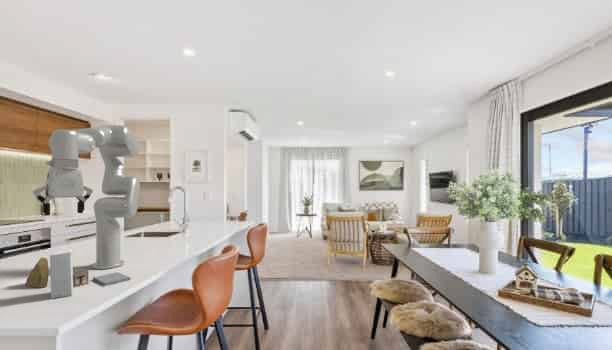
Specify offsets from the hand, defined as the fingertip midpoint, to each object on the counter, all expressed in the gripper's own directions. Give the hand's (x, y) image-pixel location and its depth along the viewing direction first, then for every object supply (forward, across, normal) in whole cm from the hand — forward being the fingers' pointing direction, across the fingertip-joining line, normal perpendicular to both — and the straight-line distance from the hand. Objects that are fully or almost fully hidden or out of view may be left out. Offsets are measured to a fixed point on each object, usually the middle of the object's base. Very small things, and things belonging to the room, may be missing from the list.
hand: (64, 214), depth 112 cm
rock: (+28, -2, +20) cm, 34 cm away
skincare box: (+28, 0, +1) cm, 28 cm away
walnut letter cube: (+28, +7, +8) cm, 30 cm away
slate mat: (+27, +17, +3) cm, 33 cm away
